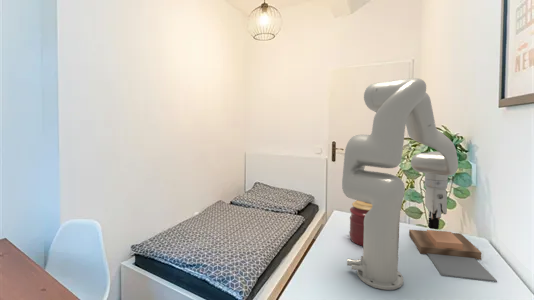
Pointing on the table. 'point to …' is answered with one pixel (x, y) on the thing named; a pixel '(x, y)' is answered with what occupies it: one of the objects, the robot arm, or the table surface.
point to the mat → (460, 267)
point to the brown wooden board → (428, 247)
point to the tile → (444, 239)
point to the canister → (358, 221)
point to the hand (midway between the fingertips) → (433, 228)
